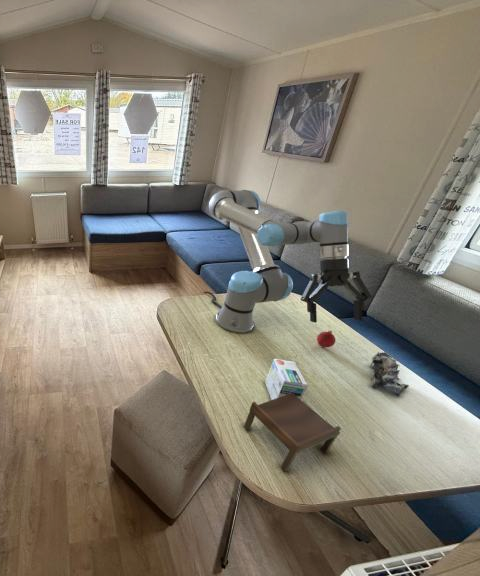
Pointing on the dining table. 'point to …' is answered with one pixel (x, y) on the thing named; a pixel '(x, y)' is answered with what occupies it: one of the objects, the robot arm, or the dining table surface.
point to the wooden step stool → (293, 425)
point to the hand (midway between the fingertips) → (335, 320)
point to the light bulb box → (285, 379)
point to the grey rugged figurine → (386, 372)
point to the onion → (326, 339)
